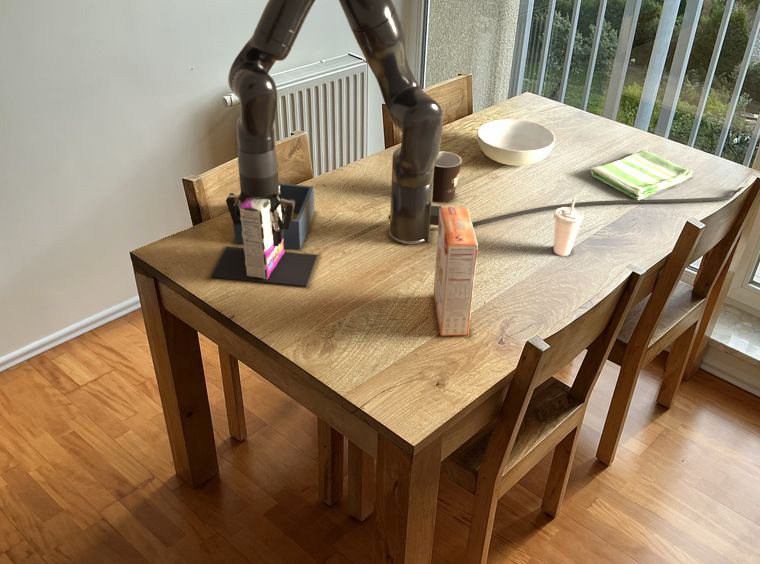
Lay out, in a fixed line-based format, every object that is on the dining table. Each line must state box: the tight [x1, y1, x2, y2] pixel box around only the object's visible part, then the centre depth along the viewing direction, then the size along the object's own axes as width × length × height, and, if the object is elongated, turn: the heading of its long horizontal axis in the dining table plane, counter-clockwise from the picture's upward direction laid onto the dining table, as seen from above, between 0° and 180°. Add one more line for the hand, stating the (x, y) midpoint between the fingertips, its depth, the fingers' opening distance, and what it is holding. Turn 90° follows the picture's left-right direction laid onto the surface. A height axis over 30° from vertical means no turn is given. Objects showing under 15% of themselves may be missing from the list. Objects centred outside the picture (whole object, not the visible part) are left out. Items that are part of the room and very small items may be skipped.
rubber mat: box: [210, 246, 318, 288], centre depth 171 cm, size 20×12×1 cm, turn 85°
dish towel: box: [590, 149, 694, 200], centre depth 214 cm, size 18×23×3 cm
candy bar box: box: [239, 186, 286, 279], centre depth 166 cm, size 11×5×16 cm, turn 169°
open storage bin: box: [232, 182, 315, 250], centre depth 182 cm, size 15×17×7 cm
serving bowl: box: [476, 118, 556, 167], centre depth 218 cm, size 21×21×7 cm
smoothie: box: [553, 196, 584, 257], centre depth 178 cm, size 6×6×14 cm
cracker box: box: [433, 206, 479, 337], centre depth 154 cm, size 14×6×21 cm, turn 5°
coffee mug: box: [433, 150, 463, 204], centre depth 198 cm, size 12×9×10 cm
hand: (263, 242), depth 167 cm, fingers closed on candy bar box, 5 cm apart
